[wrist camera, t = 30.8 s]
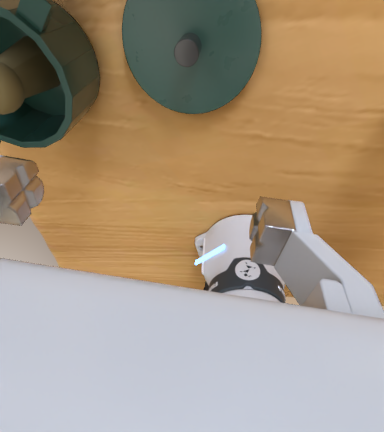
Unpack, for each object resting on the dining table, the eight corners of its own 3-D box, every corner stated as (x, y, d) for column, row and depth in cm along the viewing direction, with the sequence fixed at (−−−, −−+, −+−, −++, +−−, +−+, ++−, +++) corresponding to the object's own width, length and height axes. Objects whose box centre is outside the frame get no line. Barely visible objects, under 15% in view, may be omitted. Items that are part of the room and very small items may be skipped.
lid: (290, 38, 31) (297, 48, 27) (196, 133, 40) (192, 149, 36) (183, -99, 25) (175, -109, 21) (100, 47, 34) (85, 57, 30)
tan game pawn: (41, 94, 38) (-11, 131, 30) (6, 48, 34) (-64, 75, 26) (75, 77, 36) (29, 111, 28) (41, 25, 32) (-23, 47, 24)
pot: (132, 40, 33) (108, 59, 27) (65, 149, 44) (37, 180, 38) (7, -77, 27) (-60, -88, 21) (-33, 82, 39) (-85, 106, 32)
